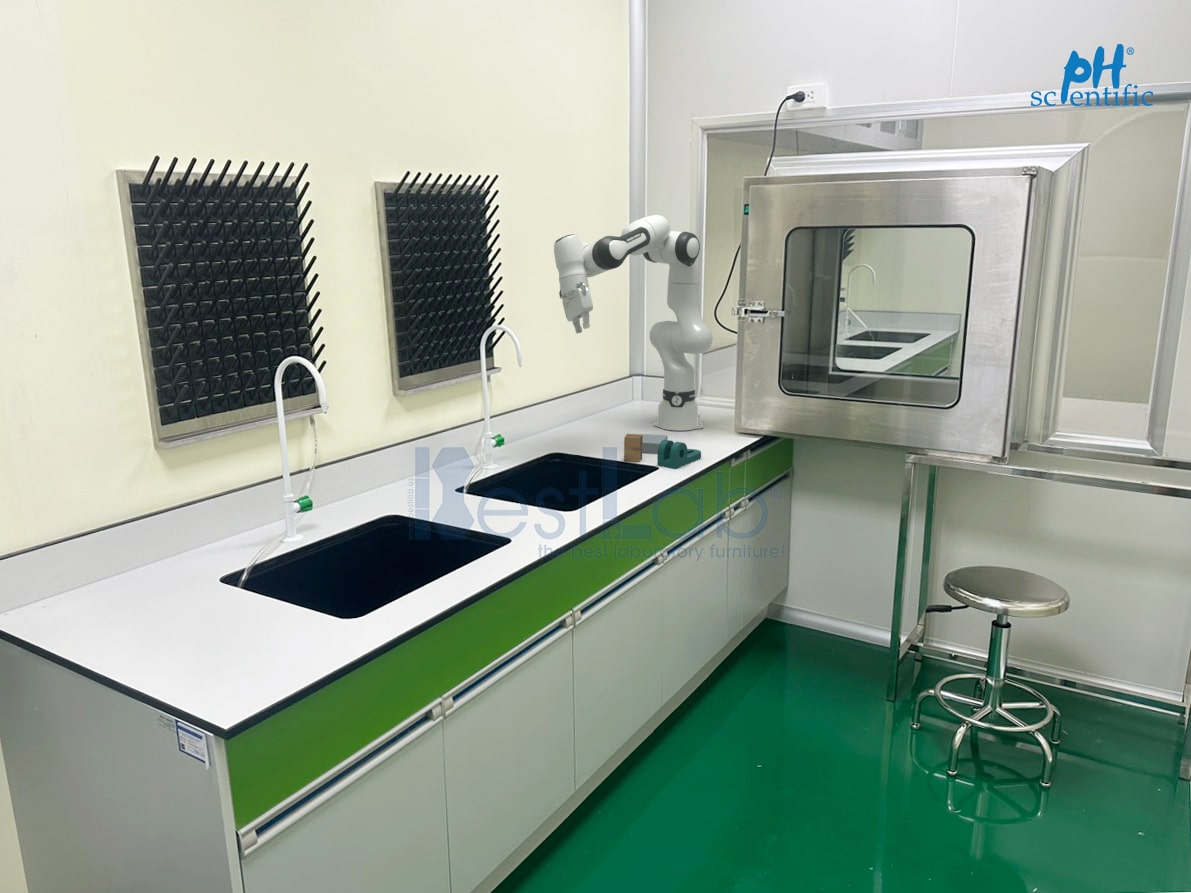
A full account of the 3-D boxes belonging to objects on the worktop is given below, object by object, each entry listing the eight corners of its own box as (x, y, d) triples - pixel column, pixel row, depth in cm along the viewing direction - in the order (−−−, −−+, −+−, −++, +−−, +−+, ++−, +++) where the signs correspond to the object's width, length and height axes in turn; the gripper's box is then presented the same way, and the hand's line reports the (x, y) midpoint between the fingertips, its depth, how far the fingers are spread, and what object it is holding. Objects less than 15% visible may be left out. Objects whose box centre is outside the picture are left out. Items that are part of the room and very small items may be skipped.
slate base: (632, 444, 298) (632, 433, 297) (667, 446, 296) (667, 435, 295) (626, 453, 287) (626, 441, 286) (662, 455, 284) (662, 443, 283)
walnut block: (626, 457, 280) (627, 433, 278) (642, 458, 279) (642, 434, 277) (624, 461, 276) (624, 437, 274) (639, 462, 274) (639, 438, 273)
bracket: (675, 469, 267) (676, 445, 265) (657, 466, 271) (657, 441, 269) (704, 457, 281) (705, 434, 279) (686, 454, 285) (687, 431, 283)
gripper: (592, 278, 261) (601, 323, 262) (576, 292, 281) (584, 334, 281) (573, 281, 260) (581, 326, 260) (557, 294, 279) (565, 337, 280)
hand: (583, 330), depth 271 cm, fingers open, 8 cm apart
